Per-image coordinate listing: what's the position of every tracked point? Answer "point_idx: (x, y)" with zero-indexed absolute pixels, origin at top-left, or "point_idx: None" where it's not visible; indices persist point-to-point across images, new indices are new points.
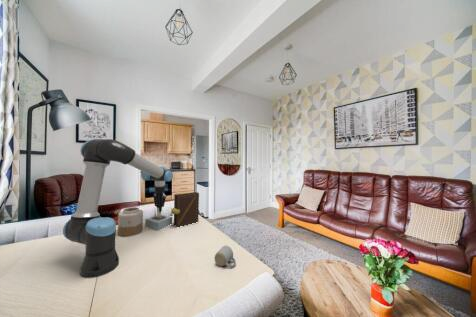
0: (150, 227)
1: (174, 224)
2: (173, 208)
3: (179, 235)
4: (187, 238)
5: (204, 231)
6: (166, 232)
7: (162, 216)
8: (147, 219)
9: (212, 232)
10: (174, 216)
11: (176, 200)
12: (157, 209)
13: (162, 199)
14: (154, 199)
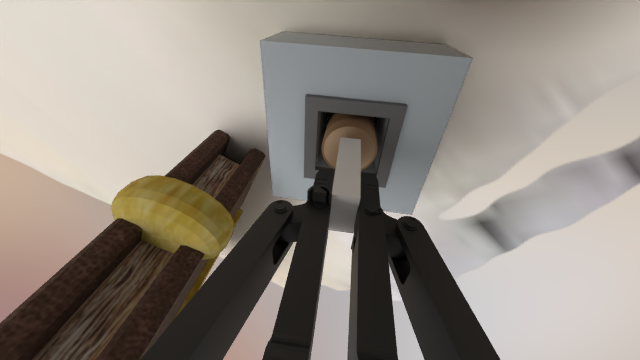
0: (374, 39)
1: (249, 154)
2: (182, 234)
3: (89, 34)
4: (10, 16)
5: (65, 146)
6: (201, 34)
7: None
8: (441, 66)
9: (30, 150)
10: (226, 188)
11: (32, 330)
12: (354, 180)
13: (185, 332)
14: (470, 341)
